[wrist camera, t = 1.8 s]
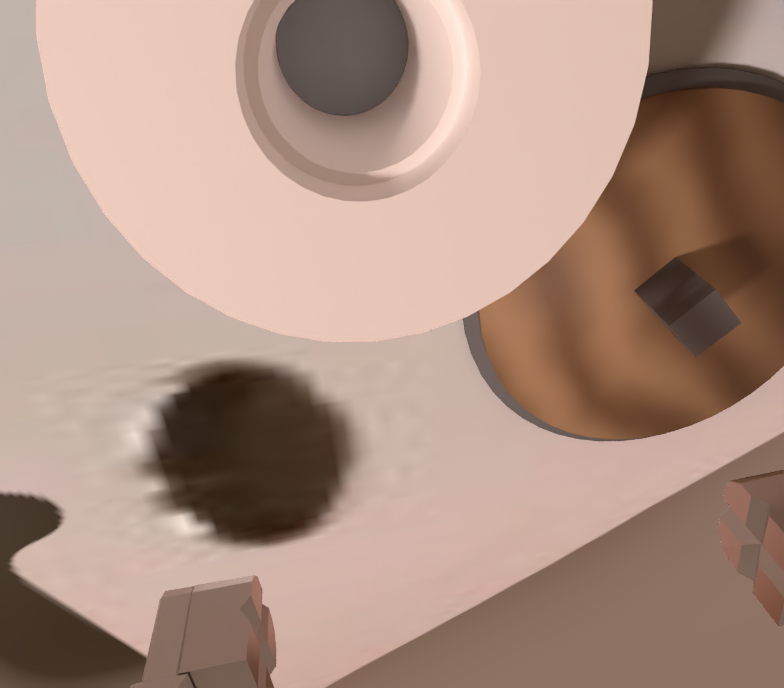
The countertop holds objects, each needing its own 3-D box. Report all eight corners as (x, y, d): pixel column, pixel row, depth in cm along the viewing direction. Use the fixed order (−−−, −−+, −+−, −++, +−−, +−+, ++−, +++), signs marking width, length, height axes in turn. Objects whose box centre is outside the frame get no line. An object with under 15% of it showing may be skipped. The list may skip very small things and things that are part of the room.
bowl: (214, 290, 43) (188, 395, 33) (23, -158, 30) (-116, -216, 20) (571, 193, 43) (658, 269, 32) (525, -300, 30) (643, -432, 20)
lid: (736, -17, 37) (806, -12, 32) (897, 275, 48) (968, 313, 43) (399, 291, 44) (413, 336, 39) (610, 482, 55) (641, 535, 50)
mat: (737, -46, 37) (743, -46, 36) (908, 271, 49) (914, 275, 48) (377, 288, 44) (378, 292, 44) (604, 489, 57) (606, 494, 56)
